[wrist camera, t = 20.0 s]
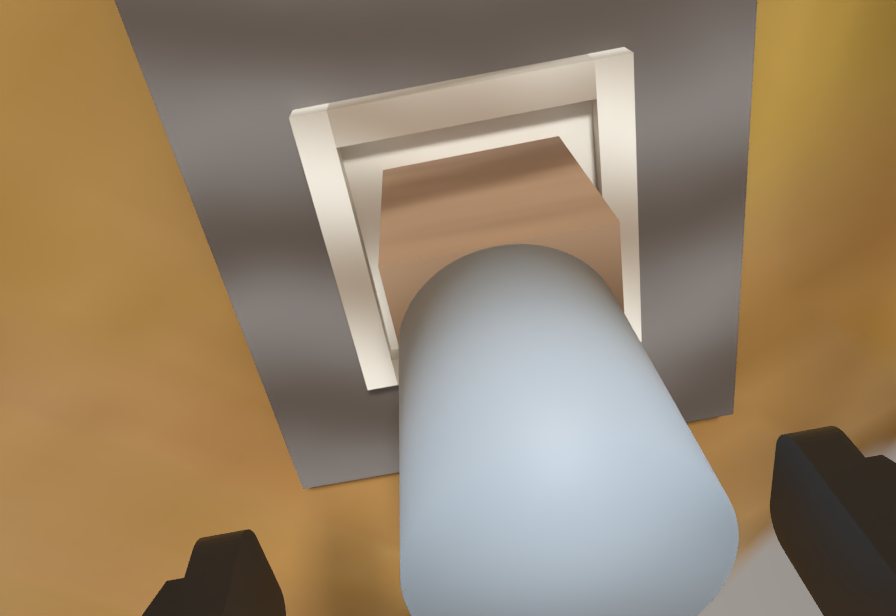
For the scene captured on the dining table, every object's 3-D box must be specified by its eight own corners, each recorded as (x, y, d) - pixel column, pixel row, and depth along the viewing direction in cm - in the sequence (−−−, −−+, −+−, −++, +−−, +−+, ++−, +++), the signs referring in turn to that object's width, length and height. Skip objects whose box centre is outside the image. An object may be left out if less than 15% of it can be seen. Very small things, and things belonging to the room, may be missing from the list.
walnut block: (382, 170, 19) (378, 267, 14) (558, 135, 19) (620, 221, 14) (417, 318, 22) (424, 447, 17) (573, 289, 22) (628, 410, 16)
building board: (109, -53, 17) (81, -49, 16) (748, -180, 17) (784, -189, 15) (306, 469, 26) (300, 505, 25) (721, 397, 26) (742, 428, 24)
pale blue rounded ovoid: (375, 268, 14) (364, 478, 9) (617, 223, 14) (747, 409, 9) (421, 448, 17) (433, 692, 11) (626, 411, 16) (731, 643, 11)
